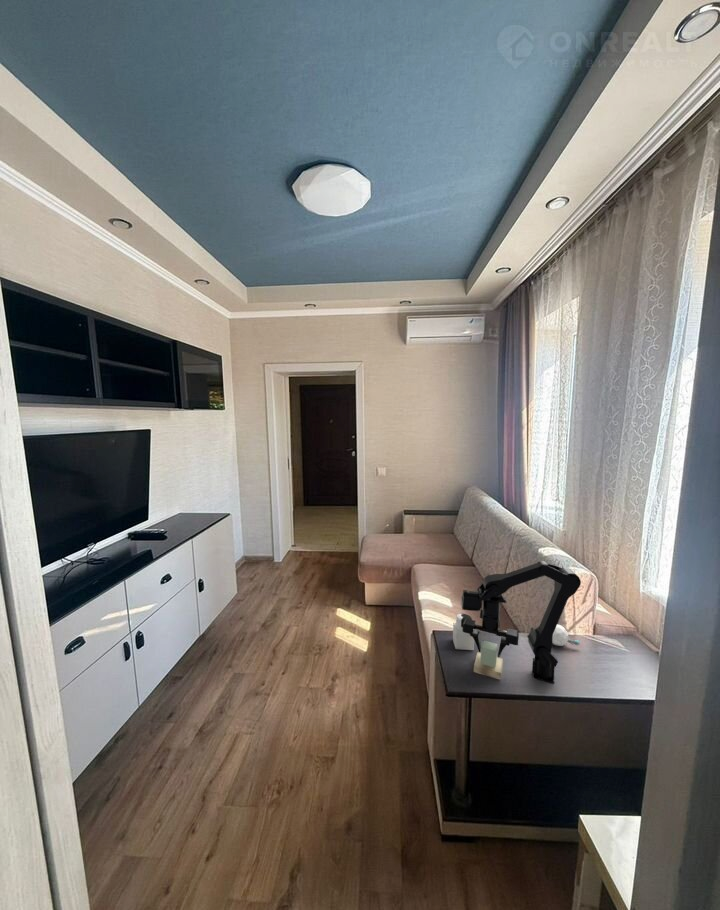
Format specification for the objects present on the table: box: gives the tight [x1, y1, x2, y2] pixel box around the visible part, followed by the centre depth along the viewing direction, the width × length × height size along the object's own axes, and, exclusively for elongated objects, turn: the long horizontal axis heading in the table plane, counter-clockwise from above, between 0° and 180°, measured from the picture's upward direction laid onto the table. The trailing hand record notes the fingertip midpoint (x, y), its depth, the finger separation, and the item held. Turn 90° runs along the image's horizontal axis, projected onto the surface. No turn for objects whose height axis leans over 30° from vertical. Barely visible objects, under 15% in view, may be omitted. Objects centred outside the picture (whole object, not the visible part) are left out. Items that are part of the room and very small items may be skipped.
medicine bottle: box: [452, 613, 475, 651], centre depth 147 cm, size 7×7×12 cm
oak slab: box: [473, 651, 504, 680], centre depth 133 cm, size 9×9×3 cm
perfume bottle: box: [553, 624, 580, 647], centre depth 149 cm, size 8×8×12 cm
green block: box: [480, 640, 499, 668], centre depth 133 cm, size 5×5×6 cm
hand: (489, 654), depth 132 cm, fingers open, 6 cm apart
